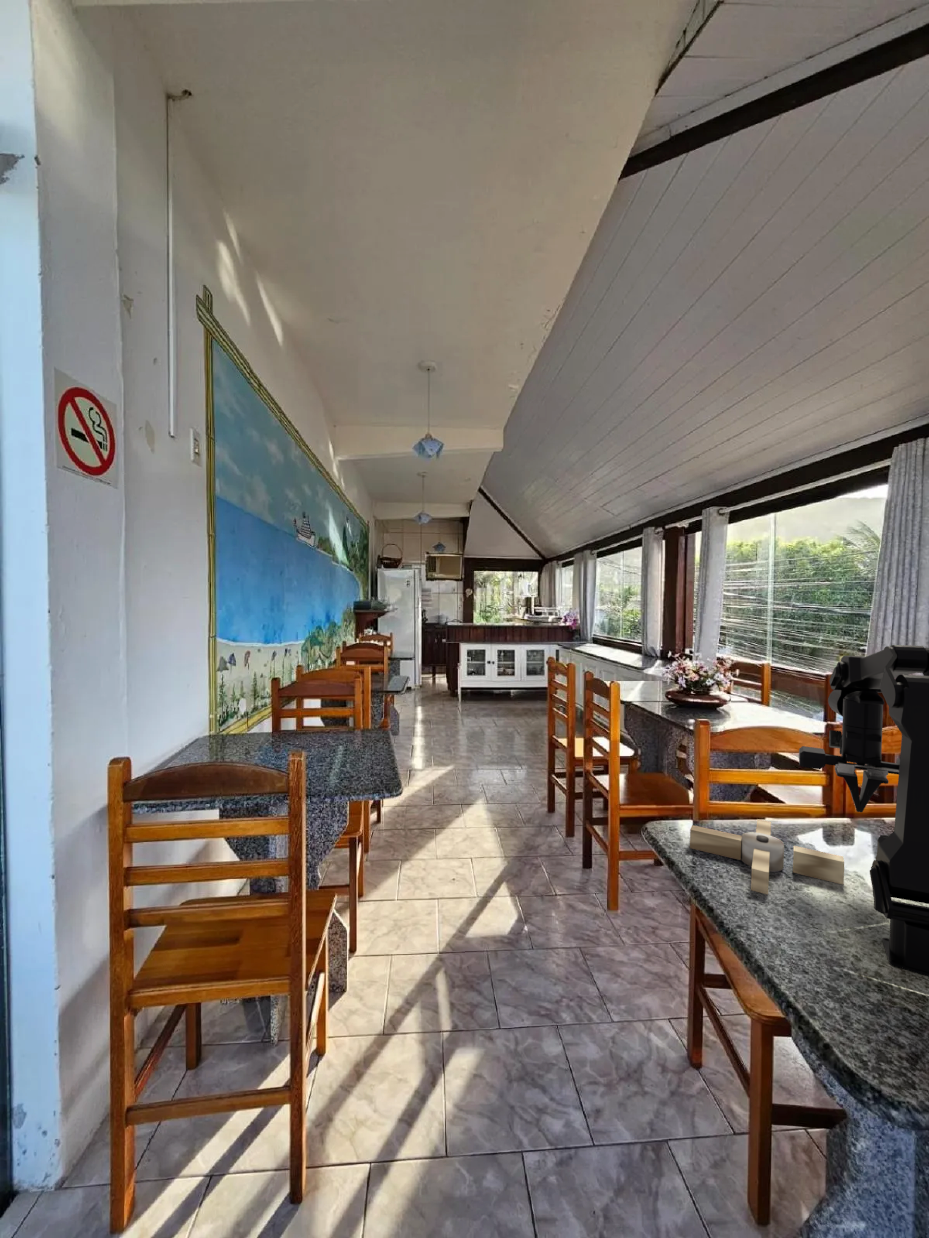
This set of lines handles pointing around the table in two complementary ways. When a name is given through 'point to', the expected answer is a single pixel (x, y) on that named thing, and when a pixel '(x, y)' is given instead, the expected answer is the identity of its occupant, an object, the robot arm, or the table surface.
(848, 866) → the table surface
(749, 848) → the stool base
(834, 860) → the folding leg
